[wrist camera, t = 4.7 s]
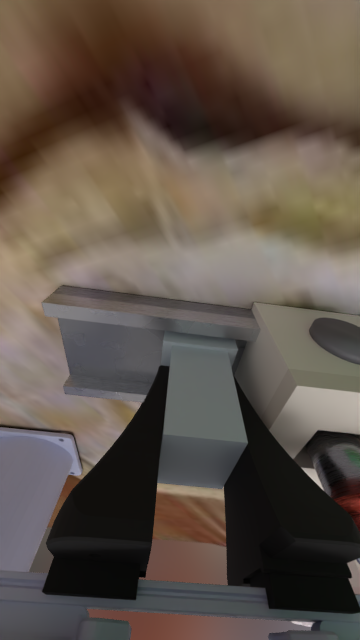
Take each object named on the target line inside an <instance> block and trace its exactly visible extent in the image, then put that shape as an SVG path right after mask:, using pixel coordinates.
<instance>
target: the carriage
mask: <svg viewBox="0 0 360 640" xmlns="http://www.w3.org/2000/svg"><path fill="white" fill-rule="evenodd" d="M237 351H238V348H237V345H236V341H235V339H230V338H222V337H213V336H205V335H197V334H189V333H180V332H172V331H165V333H164V339H163V347H162V357H161V365H163V366H170V367H169V378H168V388H167V398H166V407H165V414H164V421H163V428H162V437H161V448H160V459H159V470H158V481H157V483H165V484H175V485H186V486H196V487H207V488H218V489H222V488H223V486H224V484H225V483H226V481H227V479H228V477H229V476H230V474H231V472H232V470H233V469H234V467H235V465H236V463H237V461H238V460H239V458H240V456H241V454H242V453H243V451H244V449H245V447H246V446H247V444H248V441H247V436H246V432H245V427H244V423H243V418H242V414H241V409H240V405H239V400H238V395H237V391H236V386H235V382H234V377H233V373H232V365H233V363H234V360H235V357H236V354H237Z"/></svg>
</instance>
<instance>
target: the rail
mask: <svg viewBox="0 0 360 640" xmlns="http://www.w3.org/2000/svg"><path fill="white" fill-rule="evenodd" d="M42 306H43V310H44V313H45V316H49V317H57V318H58V321H59V326H60V330H61V335H62V339H63V344H64V348H65V353H66V358H67V362H68V367H69V371H70V376H69V377H68V379H67V381H66V382H65V384H64V385H63V388H64V391H65V394H70V395H79V396H88V397H97V398H106V399H116V400H125V401H134V402H143V401H144V399H145V398H146V396H147V394H148V392H149V390H150V388H151V386H152V384H153V382H154V380H155V377H156V375H157V372H158V368H159V366H161V357H162V347H163V339H164V333H165V331H172V332H180V333H189V334H197V335H205V336H213V337H222V338H230V339H235V341H236V345H237V348H238V351H237V354H236V357H235V360H234V363H233V365H232V373H233V375H235V372H236V370H237V367H238V365H239V362H240V359H241V357H242V354H243V351H244V349H245V346H246V343H247V341H255V342H256V340H257V337H258V335H259V332H260V330H261V329H260V327H259V325H258V323H257V321H256V318H255V316H254V314H253V312H252V310H250V309H242V308H235V307H227V306H219V305H211V304H203V303H195V302H187V301H179V300H172V299H164V298H156V297H148V296H140V295H132V294H124V293H116V292H108V291H101V290H93V289H85V288H77V287H69V286H61V287H59V288H58V289H57V290H56V291H55V292H53V293H52V294H51V295H50V296H49V297H48V298H46V299H45V300H44V301H43V302H42Z"/></svg>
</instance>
